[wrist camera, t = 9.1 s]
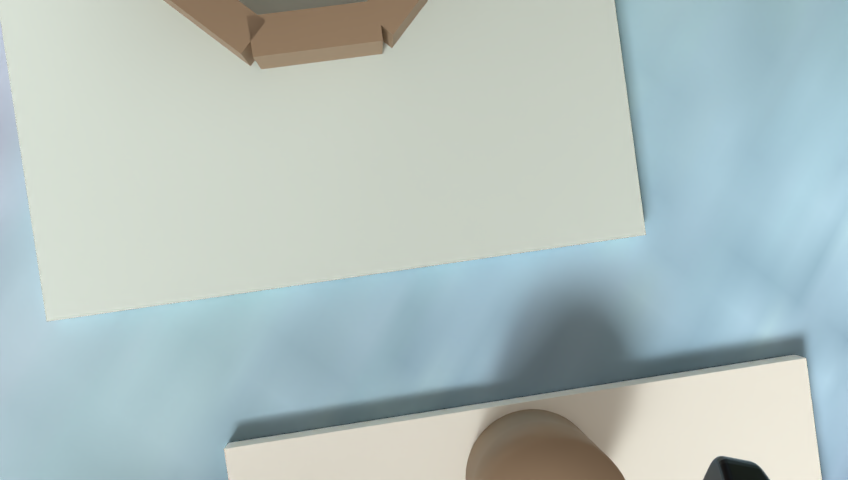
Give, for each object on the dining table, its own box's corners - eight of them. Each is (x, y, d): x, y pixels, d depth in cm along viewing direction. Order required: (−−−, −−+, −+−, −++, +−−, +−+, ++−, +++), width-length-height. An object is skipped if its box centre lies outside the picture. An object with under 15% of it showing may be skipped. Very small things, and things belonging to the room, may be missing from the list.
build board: (56, 318, 21) (20, 329, 19) (-26, -218, 21) (-71, -267, 19) (638, 234, 22) (666, 235, 20) (569, -279, 22) (590, -334, 20)
